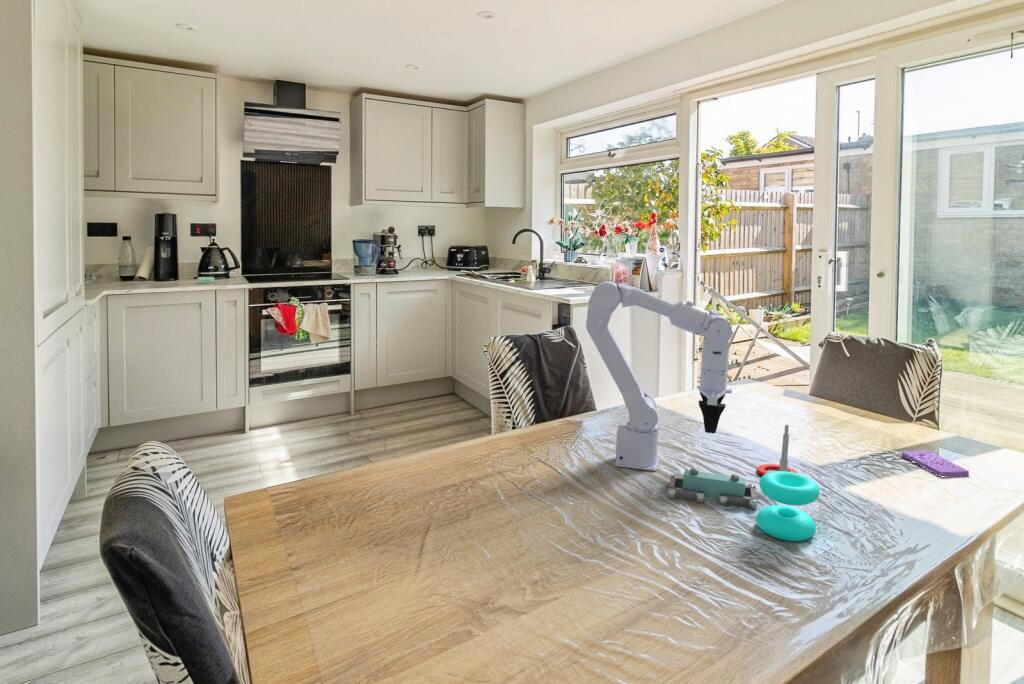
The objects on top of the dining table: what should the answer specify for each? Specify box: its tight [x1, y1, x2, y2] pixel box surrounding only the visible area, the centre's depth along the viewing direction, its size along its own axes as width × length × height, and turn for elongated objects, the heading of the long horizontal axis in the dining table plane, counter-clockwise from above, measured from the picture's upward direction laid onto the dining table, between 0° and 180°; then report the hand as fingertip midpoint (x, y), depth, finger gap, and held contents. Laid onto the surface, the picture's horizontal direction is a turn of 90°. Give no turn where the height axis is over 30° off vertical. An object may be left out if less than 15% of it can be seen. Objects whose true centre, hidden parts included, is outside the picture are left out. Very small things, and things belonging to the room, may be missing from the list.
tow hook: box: [756, 424, 799, 477], centre depth 137 cm, size 8×13×9 cm
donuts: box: [756, 470, 820, 542], centre depth 112 cm, size 10×10×10 cm
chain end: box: [667, 474, 706, 504], centre depth 129 cm, size 7×9×2 cm
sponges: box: [901, 449, 970, 477], centre depth 143 cm, size 7×13×2 cm, turn 5°
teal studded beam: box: [682, 468, 746, 501], centre depth 127 cm, size 12×3×5 cm, turn 68°
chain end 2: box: [718, 483, 759, 511], centre depth 126 cm, size 7×9×2 cm
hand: (710, 427), depth 140 cm, fingers open, 7 cm apart
